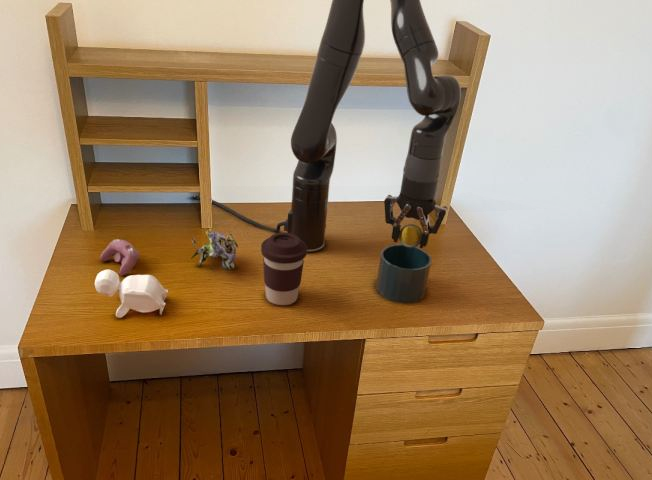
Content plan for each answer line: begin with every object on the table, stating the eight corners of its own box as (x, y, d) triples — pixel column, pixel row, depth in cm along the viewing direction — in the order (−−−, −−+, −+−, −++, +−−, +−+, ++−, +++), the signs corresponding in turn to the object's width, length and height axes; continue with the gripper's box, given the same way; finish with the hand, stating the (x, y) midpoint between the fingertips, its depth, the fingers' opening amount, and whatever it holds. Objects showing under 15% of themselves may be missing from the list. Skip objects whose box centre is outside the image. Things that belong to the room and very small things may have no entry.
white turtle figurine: (160, 306, 133) (94, 285, 128) (172, 277, 129) (104, 255, 124) (156, 329, 126) (85, 308, 121) (168, 299, 122) (95, 276, 117)
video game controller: (135, 277, 139) (145, 250, 138) (119, 276, 136) (129, 248, 134) (113, 261, 145) (121, 235, 143) (97, 260, 141) (105, 233, 140)
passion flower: (230, 286, 146) (240, 267, 135) (186, 280, 143) (193, 261, 132) (232, 245, 150) (242, 224, 140) (190, 239, 147) (196, 217, 137)
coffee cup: (287, 315, 128) (291, 256, 120) (251, 299, 132) (252, 241, 124) (311, 294, 135) (316, 237, 127) (275, 280, 139) (278, 224, 131)
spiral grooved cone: (426, 246, 135) (424, 233, 125) (404, 254, 136) (400, 242, 126) (419, 226, 136) (415, 211, 127) (397, 234, 137) (392, 220, 128)
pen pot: (370, 295, 137) (375, 262, 132) (383, 271, 146) (388, 240, 141) (418, 308, 134) (425, 274, 129) (428, 283, 143) (435, 251, 138)
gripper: (457, 174, 125) (442, 244, 134) (392, 161, 129) (382, 230, 138) (452, 187, 119) (436, 258, 128) (384, 173, 123) (373, 244, 132)
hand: (408, 243), depth 133 cm, fingers closed on spiral grooved cone, 5 cm apart
